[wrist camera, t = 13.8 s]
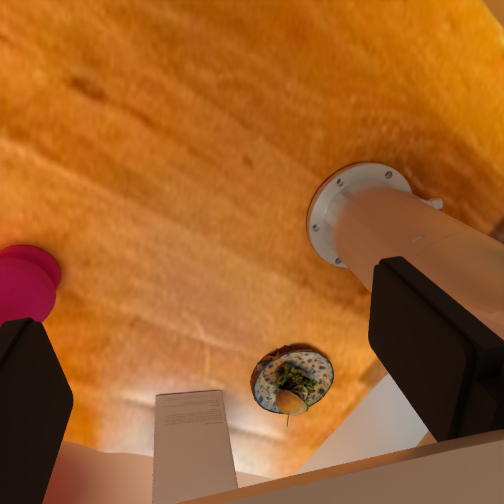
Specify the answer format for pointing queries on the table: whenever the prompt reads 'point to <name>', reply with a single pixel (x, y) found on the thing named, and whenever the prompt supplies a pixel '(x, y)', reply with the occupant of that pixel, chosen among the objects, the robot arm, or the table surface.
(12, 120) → the table surface
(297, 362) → the burger
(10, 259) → the pepper mill
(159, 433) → the supplement box
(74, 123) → the table surface
